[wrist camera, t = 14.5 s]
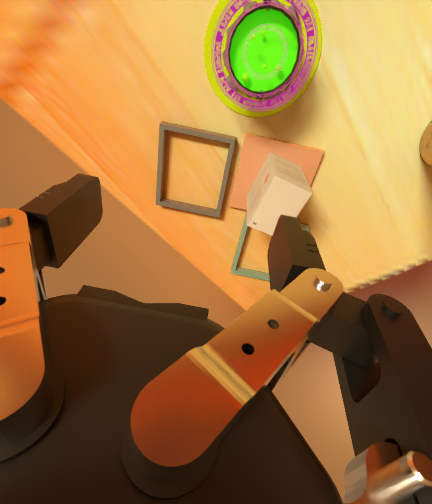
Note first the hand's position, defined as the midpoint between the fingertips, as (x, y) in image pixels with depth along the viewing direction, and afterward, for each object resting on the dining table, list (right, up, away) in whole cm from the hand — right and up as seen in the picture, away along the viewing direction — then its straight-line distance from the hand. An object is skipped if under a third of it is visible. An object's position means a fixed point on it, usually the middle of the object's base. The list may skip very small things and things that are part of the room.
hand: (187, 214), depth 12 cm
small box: (+11, +10, +32) cm, 35 cm away
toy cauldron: (+7, +24, +23) cm, 34 cm away
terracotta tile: (+11, +10, +32) cm, 36 cm away
